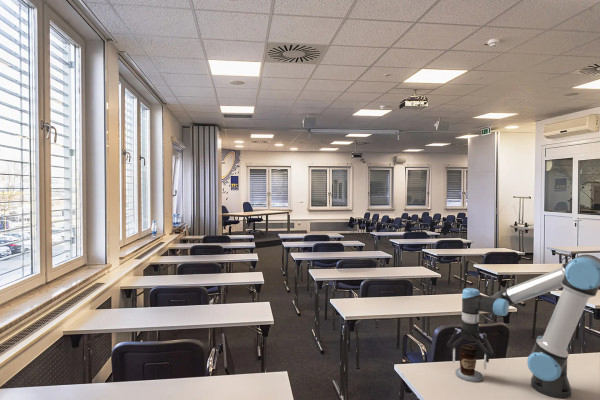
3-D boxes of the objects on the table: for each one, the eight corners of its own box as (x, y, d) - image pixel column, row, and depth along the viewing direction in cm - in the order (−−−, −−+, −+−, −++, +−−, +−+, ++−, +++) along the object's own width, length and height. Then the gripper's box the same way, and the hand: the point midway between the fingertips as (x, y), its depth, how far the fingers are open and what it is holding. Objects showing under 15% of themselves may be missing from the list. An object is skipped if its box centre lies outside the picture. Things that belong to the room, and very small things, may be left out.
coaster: (483, 373, 178) (483, 371, 178) (482, 384, 168) (482, 382, 168) (457, 367, 184) (457, 365, 184) (453, 377, 174) (453, 375, 174)
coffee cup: (480, 378, 172) (481, 350, 172) (462, 377, 172) (463, 350, 172) (472, 369, 181) (473, 343, 180) (455, 368, 181) (456, 342, 181)
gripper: (500, 323, 173) (498, 368, 173) (443, 314, 185) (442, 355, 186) (499, 328, 166) (498, 374, 167) (441, 318, 179) (440, 361, 179)
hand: (469, 365), depth 176 cm, fingers open, 13 cm apart
